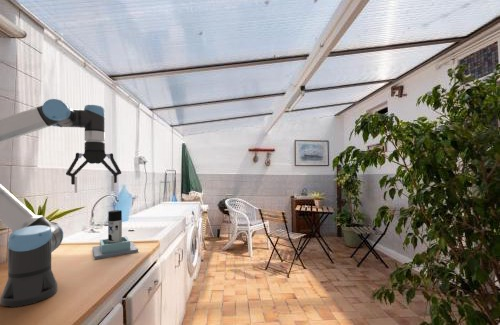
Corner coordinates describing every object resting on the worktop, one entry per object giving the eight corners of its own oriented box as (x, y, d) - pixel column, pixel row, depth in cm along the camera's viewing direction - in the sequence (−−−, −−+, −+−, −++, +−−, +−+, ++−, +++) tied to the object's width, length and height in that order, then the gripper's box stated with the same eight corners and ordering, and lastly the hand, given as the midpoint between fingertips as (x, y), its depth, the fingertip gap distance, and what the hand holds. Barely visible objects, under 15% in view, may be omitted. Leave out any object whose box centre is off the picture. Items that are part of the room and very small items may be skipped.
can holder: (94, 259, 129) (94, 248, 130) (92, 249, 146) (92, 239, 146) (138, 251, 141) (138, 241, 141) (131, 243, 157) (131, 234, 157)
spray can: (105, 248, 142) (105, 211, 143) (116, 245, 148) (116, 209, 149) (113, 250, 139) (113, 212, 140) (124, 246, 145) (124, 210, 146)
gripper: (125, 143, 123) (125, 189, 122) (59, 141, 109) (59, 192, 109) (128, 142, 117) (128, 190, 116) (58, 139, 103) (58, 194, 102)
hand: (94, 191), depth 112 cm, fingers open, 13 cm apart
